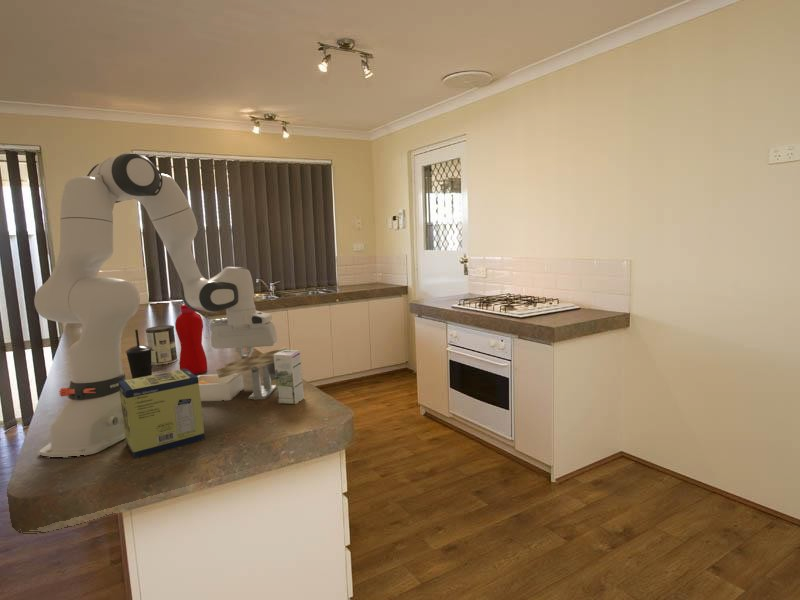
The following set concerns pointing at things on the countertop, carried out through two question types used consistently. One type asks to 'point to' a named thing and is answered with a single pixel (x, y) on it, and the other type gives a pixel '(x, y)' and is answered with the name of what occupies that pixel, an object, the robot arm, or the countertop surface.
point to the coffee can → (162, 344)
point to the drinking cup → (139, 359)
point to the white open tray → (220, 387)
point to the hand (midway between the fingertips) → (246, 360)
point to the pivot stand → (259, 390)
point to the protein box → (161, 411)
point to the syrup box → (288, 376)
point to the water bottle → (191, 341)
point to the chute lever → (251, 364)
